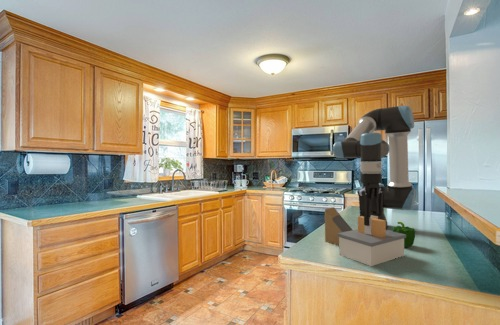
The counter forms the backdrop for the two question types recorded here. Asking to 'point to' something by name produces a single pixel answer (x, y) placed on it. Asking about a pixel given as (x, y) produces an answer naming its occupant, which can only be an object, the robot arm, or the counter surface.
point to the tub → (371, 251)
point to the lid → (378, 233)
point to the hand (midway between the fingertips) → (371, 233)
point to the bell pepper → (409, 234)
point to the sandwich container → (334, 225)
